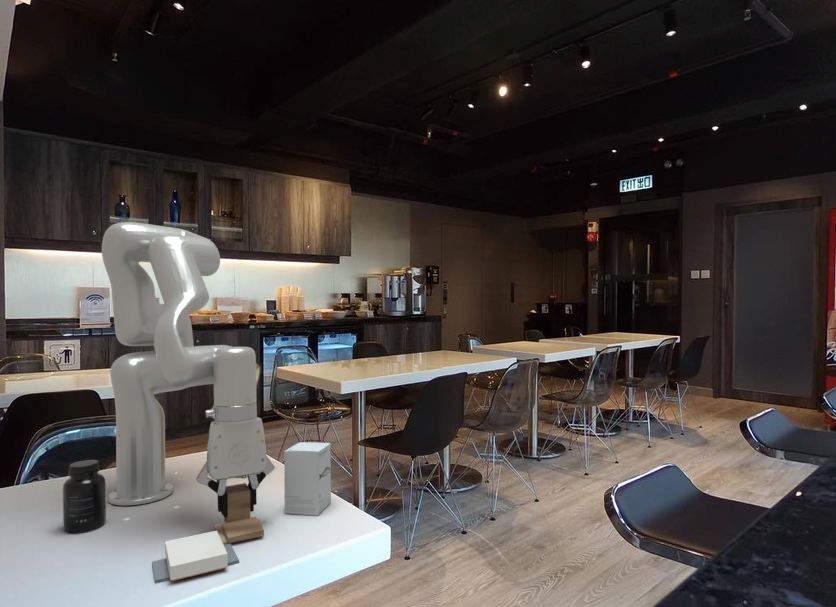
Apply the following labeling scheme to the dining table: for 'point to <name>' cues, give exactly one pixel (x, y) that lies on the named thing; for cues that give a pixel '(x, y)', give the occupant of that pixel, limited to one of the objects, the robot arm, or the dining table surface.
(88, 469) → the supplement bottle
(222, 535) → the pad
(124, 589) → the dining table surface
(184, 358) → the robot arm
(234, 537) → the wooden block stack
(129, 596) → the dining table surface
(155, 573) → the mat
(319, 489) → the supplement box
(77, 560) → the dining table surface
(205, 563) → the tile
